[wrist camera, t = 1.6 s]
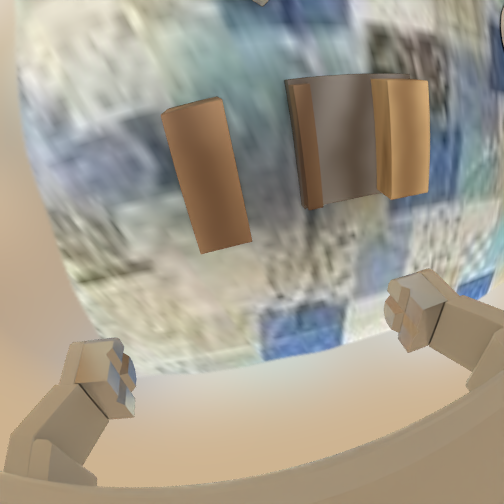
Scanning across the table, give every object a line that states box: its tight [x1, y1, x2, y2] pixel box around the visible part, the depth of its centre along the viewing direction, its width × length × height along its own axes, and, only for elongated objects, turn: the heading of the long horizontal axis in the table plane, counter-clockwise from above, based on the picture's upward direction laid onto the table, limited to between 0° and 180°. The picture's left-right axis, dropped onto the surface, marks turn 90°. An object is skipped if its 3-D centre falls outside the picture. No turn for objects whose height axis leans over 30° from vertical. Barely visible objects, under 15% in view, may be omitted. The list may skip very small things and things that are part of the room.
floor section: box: [284, 74, 430, 210], centre depth 27 cm, size 14×13×4 cm
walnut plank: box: [161, 97, 252, 254], centre depth 26 cm, size 4×12×6 cm, turn 11°
